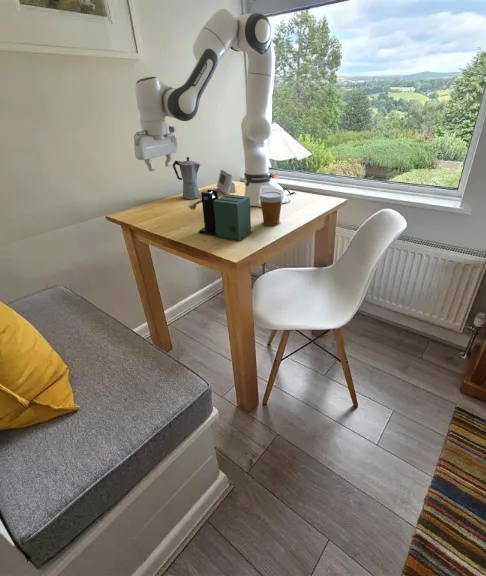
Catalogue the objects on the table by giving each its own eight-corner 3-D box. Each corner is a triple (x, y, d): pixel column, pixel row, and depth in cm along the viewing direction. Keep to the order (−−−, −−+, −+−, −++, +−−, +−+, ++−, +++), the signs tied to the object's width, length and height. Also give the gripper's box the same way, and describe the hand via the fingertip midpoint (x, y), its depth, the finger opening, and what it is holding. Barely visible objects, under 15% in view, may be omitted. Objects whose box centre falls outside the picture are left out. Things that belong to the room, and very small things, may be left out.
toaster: (214, 237, 123) (211, 201, 116) (228, 228, 131) (226, 193, 123) (238, 242, 119) (235, 204, 112) (251, 232, 127) (249, 196, 120)
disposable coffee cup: (287, 222, 135) (288, 194, 128) (271, 229, 129) (271, 199, 123) (270, 217, 141) (270, 189, 134) (255, 223, 135) (254, 194, 129)
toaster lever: (189, 212, 128) (184, 204, 127) (194, 209, 130) (190, 202, 130) (212, 200, 120) (207, 191, 119) (217, 197, 123) (212, 189, 122)
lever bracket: (199, 233, 128) (194, 192, 119) (210, 226, 134) (206, 187, 125) (216, 236, 125) (212, 195, 116) (227, 229, 131) (224, 189, 122)
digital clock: (216, 188, 185) (215, 168, 179) (232, 186, 186) (231, 167, 181) (219, 195, 171) (217, 175, 166) (236, 194, 173) (235, 173, 167)
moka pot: (201, 200, 165) (196, 159, 155) (173, 199, 168) (166, 158, 157) (207, 195, 173) (203, 155, 162) (180, 194, 176) (174, 155, 165)
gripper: (140, 132, 110) (147, 174, 117) (178, 127, 125) (182, 164, 133) (126, 131, 112) (134, 172, 120) (165, 126, 128) (170, 163, 135)
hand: (160, 168), depth 126 cm, fingers open, 8 cm apart
